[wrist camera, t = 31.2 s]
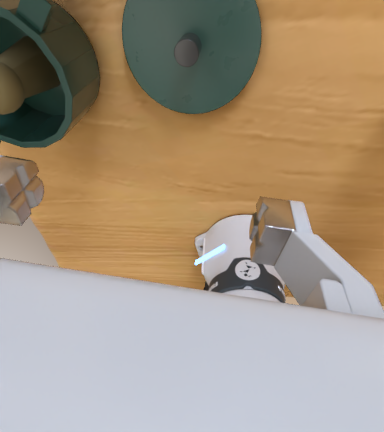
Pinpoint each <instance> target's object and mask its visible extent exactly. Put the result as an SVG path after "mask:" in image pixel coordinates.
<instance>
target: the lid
mask: <svg viewBox="0 0 384 432" xmlns="http://www.w3.org/2000/svg"><path fill="white" fill-rule="evenodd" d="M122 39H123V46H124V51H125V55H126V59H127V62H128V64H129V67H130V69H131V71H132V73H133V75H134V77H135V79H136V80H137V82H138V83H139V85H140V86H141V87H142V89H143V90H144V91H145V92H146V93H147V94H148V95H149V96H150V97H151V98H152V99H154V100H155V101H156V102H158V103H159V104H161V105H163V106H164V107H166V108H169V109H171V110H174V111H177V112H181V113H186V114H199V113H205V112H210V111H213V110H216V109H218V108H220V107H222V106H224V105H225V104H227V103H228V102H230V101H231V100H232V99H233V98H235V97H236V96H237V95H238V94H239V93H240V92H241V90H242V89H243V88H244V87H245V85H246V84H247V82H248V81H249V79H250V77H251V75H252V74H253V71H254V69H255V66H256V64H257V60H258V57H259V53H260V46H261V21H260V16H259V11H258V7H257V4H256V1H255V0H127V2H126V5H125V9H124V14H123V23H122Z"/></svg>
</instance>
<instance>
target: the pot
mask: <svg viewBox="0 0 384 432" xmlns="http://www.w3.org/2000/svg"><path fill="white" fill-rule="evenodd" d="M25 36H29V37H30V38H31V39H33V40H34V41H35V42H36V43H37V45H38V46H39V48H40V49H41V50H42V52H43V53H44V54H45V56H46V57H47V59H48V60H49V61H50V63H51V64H52V65H53V67H54V68H55V70H56V72H57V75H58V78H59V81H60V83H61V84H60V85H59V86H57V87H55V88H52V89H49V90H47V91H44V92H41V93H39V94H36V95H33V96H31V97H28V98H25V99H24V101H23V104H22V105H21V107H20V108H18V109H17V110H16V111H15V112H13V113H9V114H5V115H2V114H0V142H1V140H2V141H5V142H8V143H11V144H14V145H17V146H20V147H24V148H30V147H47V146H49V145H51V144H53V143H55V142H57V141H59V140H61V139H62V138H63V137H64V136H65V135H66V134H67V133H68V132H69V131H70V130H71V129H72V128H73V127H74V126H75V125H76V123H77V122H78V121H79V120H80V119H81V118H82V117H83V116H84V115H85V114H86V113H87V112H88V111H89V109H90V107H91V106H92V105H93V103H94V101H95V100H96V98H97V94H98V91H99V85H100V75H99V67H98V62H97V58H96V55H95V52H94V50H93V48H92V45H91V43H90V41H89V40H88V38H87V36H86V34H85V33H84V31H83V30H82V28H81V27H80V26H79V24H78V23H77V22H76V21H75V20H74V18H73V17H72V16H71V15H70V14H69V13H68V12H66V11H65V10H64V9H63V8H62V7H60V6H59V5H58V4H56V3H55V2H53V1H52V0H0V54H1V53H3V52H4V51H5V50H7V49H8V48H9V47H11V46H12V45H13V44H15V43H16V42H17V41H19V40H20V39H21V38H23V37H25Z"/></svg>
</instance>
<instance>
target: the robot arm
mask: <svg viewBox="0 0 384 432" xmlns="http://www.w3.org/2000/svg"><path fill="white" fill-rule="evenodd" d="M38 172H39V170H38V167H37V165H36V163H35V162H33V161H31V160H25V159H20V158H14V157H8V156H2V155H0V223H4V224H12V225H19V226H20V225H22V224H23V223H24V222H25V220H26V219H27V218H28V217H29V216H30V214H31V208H33V207H35V206H37V205H38V204H39V203H40V202H41V200H42V198H43V195H44V186H43V182H42V181H41V180H40V179H39V178H38V177H37V176H36V175H37V174H38ZM256 209H257V212H255V213H254V214H253V215H236V216H231V217H227V218H225V219H222V220H220V221H219V222H217V223H216V224H214V225H213V226H212V227H211V228H210V229H209V230H208V231H207V232H206V233H203V234H201V235H199V236H197V237H196V238H195V246H196V248H197V251H198V254H199V256H200V258H199V259H197V260H195V265H198V264H199V263H201V262H202V274H203V275H204V278H205V280H206V281H205V287H204V290H199V289H193V288H187V287H180V286H174V285H168V284H162V283H155V282H149V281H143V280H136V279H130V278H124V277H117V276H111V275H105V274H99V273H92V272H86V271H80V270H73V269H67V268H61V267H54V266H47V265H41V264H35V263H29V262H23V261H16V260H10V259H4V258H0V432H384V311H383V308H382V306H381V304H380V301H379V299H378V297H377V294H376V292H375V289H374V287H373V285H372V284H371V283H370V282H368V281H367V280H366V279H365V278H364V277H363V276H362V275H361V274H360V273H359V272H358V271H356V270H355V269H354V268H353V267H352V266H351V265H350V264H349V263H348V262H347V261H345V260H344V259H343V258H342V257H341V256H340V255H339V254H338V253H337V252H336V251H334V250H333V249H332V248H331V247H330V246H329V245H328V244H327V243H326V242H325V241H324V240H322V239H321V238H320V237H319V236H318V235H315V234H313V232H312V229H311V225H310V222H309V219H308V215H307V212H306V209H305V205H304V203H303V202H300V201H292V200H281V199H275V198H268V197H261V196H260V197H259V199H258V201H257V204H256ZM285 284H286V286H287V287H288V289H289V290H290V291H291V293H292V294H293V296H294V297H295V299H296V300H297V302H298V303H299V305H293V304H288V303H285V294H284V285H285Z"/></svg>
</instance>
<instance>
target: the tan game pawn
mask: <svg viewBox="0 0 384 432" xmlns="http://www.w3.org/2000/svg"><path fill="white" fill-rule="evenodd" d="M60 84H61V83H60V81H59V78H58V75H57V72H56V70H55V68H54V67H53V65H52V64H51V63H50V61H49V60H48V59H47V57H46V56H45V54H44V53H43V52H42V50H41V49H40V48H39V46H38V45H37V43H36V42H35V41H34V40H33V39H31V38H30V37H29V36H25V37H23V38H21V39H20V40H19V41H17V42H16V43H15V44H13V45H12V46H11V47H9V48H8V49H7V50H5V51H4V52H3V53H1V54H0V114H2V115H5V114H9V113H13V112H15V111H16V110H17V109H18V108H20V107H21V105H22V104H23V101H24V99H25V98H28V97H31V96H33V95H36V94H39V93H41V92H44V91H47V90H49V89H52V88H55V87H57V86H59V85H60Z"/></svg>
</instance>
